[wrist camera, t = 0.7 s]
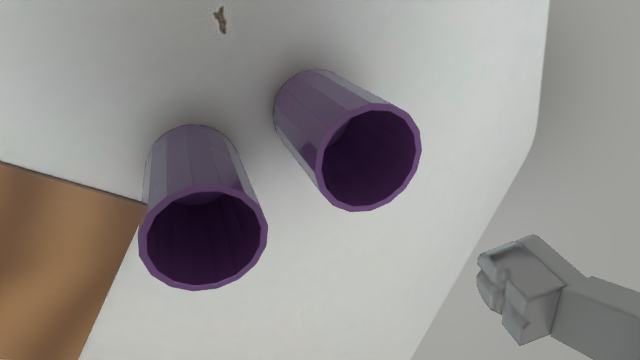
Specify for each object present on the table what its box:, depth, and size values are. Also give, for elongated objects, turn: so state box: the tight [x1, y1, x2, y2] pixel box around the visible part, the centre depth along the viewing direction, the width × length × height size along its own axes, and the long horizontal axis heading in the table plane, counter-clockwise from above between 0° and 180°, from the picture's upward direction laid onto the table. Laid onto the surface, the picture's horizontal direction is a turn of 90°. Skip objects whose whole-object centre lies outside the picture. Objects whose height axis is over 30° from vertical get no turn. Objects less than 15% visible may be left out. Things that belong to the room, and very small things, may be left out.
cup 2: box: [273, 69, 422, 212], centre depth 27 cm, size 7×7×10 cm
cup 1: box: [138, 125, 268, 291], centre depth 25 cm, size 7×7×10 cm
